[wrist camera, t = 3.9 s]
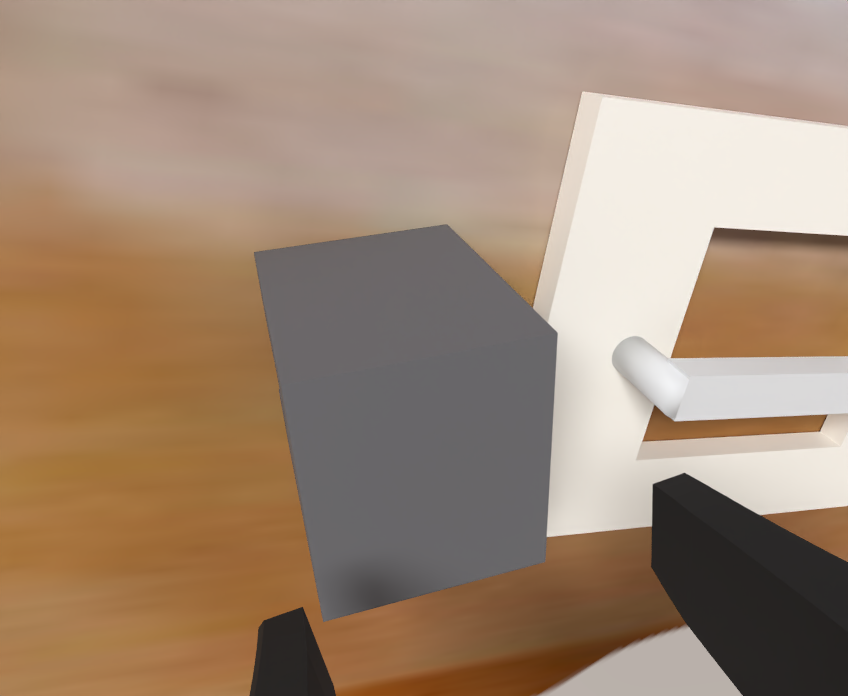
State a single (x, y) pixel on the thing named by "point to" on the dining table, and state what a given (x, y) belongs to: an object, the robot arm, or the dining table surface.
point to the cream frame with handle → (681, 310)
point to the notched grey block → (410, 413)
